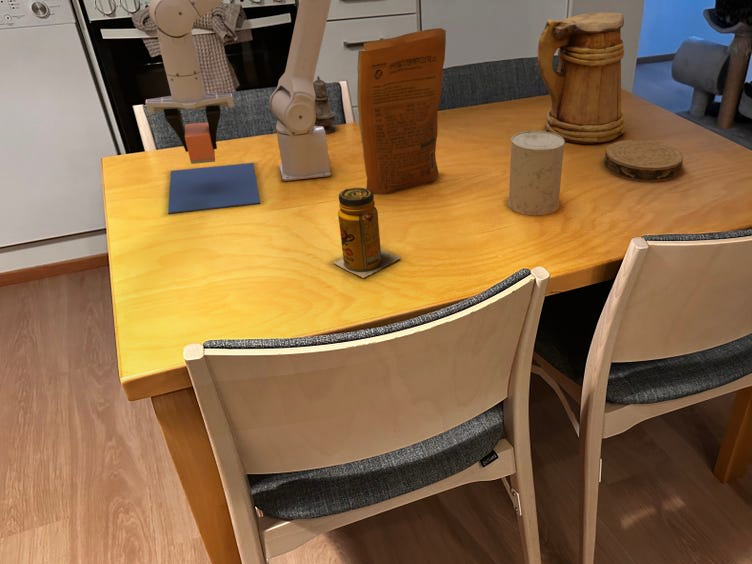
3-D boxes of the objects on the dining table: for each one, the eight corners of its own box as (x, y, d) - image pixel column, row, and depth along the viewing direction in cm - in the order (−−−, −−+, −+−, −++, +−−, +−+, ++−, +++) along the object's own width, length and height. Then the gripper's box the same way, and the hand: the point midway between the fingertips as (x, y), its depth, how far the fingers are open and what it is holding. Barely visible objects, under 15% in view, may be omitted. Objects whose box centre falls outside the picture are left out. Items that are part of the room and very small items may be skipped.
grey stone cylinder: (564, 198, 134) (570, 134, 126) (551, 218, 126) (557, 152, 119) (516, 190, 136) (519, 128, 128) (501, 210, 129) (504, 145, 121)
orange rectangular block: (214, 148, 133) (208, 122, 130) (215, 161, 128) (209, 134, 125) (191, 150, 132) (184, 124, 129) (191, 164, 127) (184, 136, 124)
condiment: (332, 263, 112) (323, 193, 105) (371, 245, 117) (365, 177, 110) (363, 279, 108) (356, 207, 101) (402, 259, 113) (398, 190, 106)
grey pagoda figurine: (331, 135, 159) (325, 80, 151) (307, 132, 159) (300, 78, 152) (341, 126, 163) (335, 73, 156) (317, 124, 164) (310, 71, 157)
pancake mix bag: (456, 180, 139) (456, 29, 122) (371, 202, 130) (358, 42, 113) (438, 169, 144) (435, 22, 127) (354, 189, 135) (340, 34, 118)
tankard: (639, 136, 162) (658, 19, 147) (558, 154, 152) (569, 30, 137) (590, 114, 174) (603, 3, 159) (512, 129, 164) (517, 13, 149)
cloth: (253, 164, 144) (253, 162, 144) (260, 203, 129) (259, 202, 129) (171, 172, 140) (171, 170, 140) (168, 214, 125) (168, 212, 125)
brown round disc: (648, 188, 138) (651, 174, 136) (588, 164, 147) (590, 150, 145) (695, 169, 146) (698, 155, 145) (636, 147, 156) (638, 134, 154)
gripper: (137, 81, 116) (158, 160, 124) (228, 75, 120) (242, 152, 128) (139, 70, 121) (159, 146, 129) (226, 64, 125) (240, 139, 133)
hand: (201, 148), depth 129 cm, fingers closed on orange rectangular block, 4 cm apart
